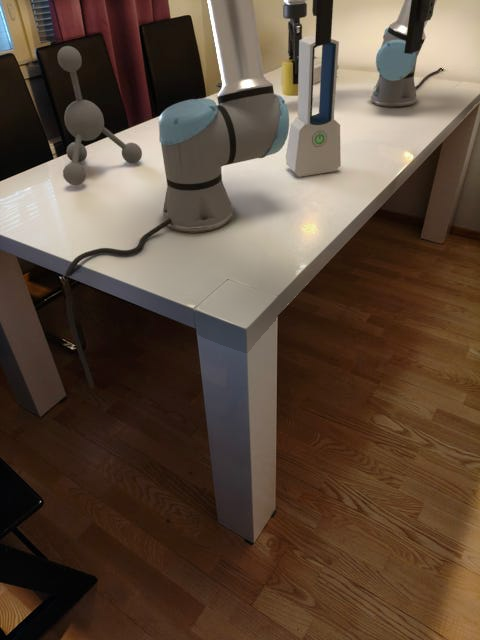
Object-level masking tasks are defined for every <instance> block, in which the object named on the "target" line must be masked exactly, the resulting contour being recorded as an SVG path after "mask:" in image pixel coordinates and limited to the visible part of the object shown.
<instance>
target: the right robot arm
mask: <svg viewBox="0 0 480 640" xmlns="http://www.w3.org/2000/svg"><path fill="white" fill-rule="evenodd" d="M307 1H308V0H282V2H283V3H284V4H283V5H282V16H283V18H284V19H286V20H287V19H288V20H289V21H288V22H287V30H288V32H287V33H288V38H287V39H288V41H287V42H288V43H287V54H288V60H291V59H294V60H292V61H291V63H293V84H298V76H299V40H301V39H303V25H302V23H301V19H303V18H306V17H307V14H308V4H307ZM411 1H412V0H404V1H403V4H402V7H401V9H400V11H399V14H398V16H397V19H396V20H395V21H394V22H392V23H390V24H389V26H388V27H386V28H385V29H384V32H383V36H382V39H383V40H382V44H381V46H380V48H379V49H378V50H377V53H376V57H375V66H376V71H377V72H378V73H379V75H378V79H377V82H376V84H375V85H374V87H373V89H372V90H373V92H372V94H371V99H370V102H371V103H372V104H373V105H376V106H379V107H387V108H403V107H408V106H412V105H414V104H415V103H416V101H417V91H416V90H417V89H418V88H420V87H421V86H422V84H423V83H425V81H426V80H427V79H428V78H429V77H431V76H433V75H435V74H437V73H439V72H444V68H443V67H442V68H443V69H442V68H441V67H439V68H438V69H437V70H435V71H433V72H431V73H429V74H427V75H426V76H425V77H423V79H421V81H420V82H419V83H418V84H417V85H415V74H416V73H415V72H416V68H417V61H418V57H419V54H420V52H421V50H422V48H423V46H424V43H425V40H426V38H427V36H426V34H425V28H426V26H427V23H428V21H425V23H424V30H423V36H422V42H421V48H420V50H419V51H416V52H413V53H410V54H407V53H404V50H405V43H406V36H407V29H408V22H409V15H410V8H411ZM437 1H438V0H435V3H434V6H435V5H436V3H437Z"/></svg>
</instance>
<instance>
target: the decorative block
mask: <svg viewBox="0 0 480 640" xmlns="http://www.w3.org/2000/svg"><path fill="white" fill-rule="evenodd" d="M321 61H322V56H315V55H314V76H313V85H316V84H317V83H320V82H321ZM337 70H339V64H337Z"/></svg>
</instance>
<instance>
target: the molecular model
mask: <svg viewBox="0 0 480 640" xmlns="http://www.w3.org/2000/svg"><path fill="white" fill-rule="evenodd" d="M82 59H83V58H82V56H81V52H79V50H78V49H77V48H75V47H73V46H71V45H64V46H62V47H61V48H60V49H59V50H58V52H57V62H58V64H59V66H60V67H61V69H63V70H64V71H66V72H67V73H68V72H69V75H70V79H71V84H72V87H73V92H74V96H75V100H74V101H72V102H71V103H70V104H69V105H67V107H66V109H65V111H64V117H63V118H64V120H63V121H64V126H65V127H66V129H67V131H68V132H69V134H70V135H71V136H72V137H74V141H73V142H71V143H70V144H68V145H67V147H66V157H68V159H69V160H70V161H71V162H69V163H68V164H66V165H65V166H64V168H63V170H62V175H63V179H64V180H65V181H66V182H67V183H68V184H70V185H72V186H79V185H82V184H83V183H84V182H85V181H86V179H87V171H86V169H85V168H84V166H83V165H81V164H80V163H82V162H84V161H85V160H86V159H87V156H88V151H87V148H86V146H85V145H84V144H82V141H84V142H89V141H94V140H96V139H97V138H98V137H100V135H101V134H103V135H104V136H106V137H107V138H108V139H109V140H111V141H112V142H113V143H115V144H116V145H117V146H118V147H119V148H121V157H122V158H123V160H124V161H125V162H126V163H128V164H130V165H131V164H137V163H139V162H140V161H141V159H142V158H143V151H142V148H141V146H140V145H139V144H137V143H135V142H128V143H124V141H122V140H121V139H120V138H119V137H117V136H116V135H115V134H114V133H113V132H111V131H110V130H109V129H107V128H106V127H105V119H104V115H103V112H102V111H101V109H100V108H99V106H98V105H96V104H95V103H94V102H92V101H90V100H87V99H83V95H82V91H81V87H80V82H79V78H78V74H77V71H78V70H80V69H81V67H82V62H83V60H82Z"/></svg>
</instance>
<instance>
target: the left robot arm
mask: <svg viewBox="0 0 480 640" xmlns="http://www.w3.org/2000/svg"><path fill="white" fill-rule="evenodd" d="M206 2H207V5H208V11H209V17H210V22H211V29H212V33H213V38H214V45H215V51H216V55H217V56H216V57H217V62H218V68H219V73H220V79H221V83H222V88H220V90H219V91H218V93H217V95H216V99H217V103H218V104H217V103H216V101H215V100H214V99H211V98H208V97H207V98H206V97H200V98H196V99H195V98H192V99H186V100H183V101H179V102H177V103H174V104H172V105H170V106H168V107H167V108H165V109H164V110H163V111H162V112H161V114H160V115H159V118H158V131H159V132H158V133H159V136H158V139H159V142H160V145H161V146H160V147H161V153H162V159H163V168H164V173H165V180H166V190H165V191H166V192H165V196H164V203H163V207H162V218H163V222H161V223H160V224H158V225H157V226H156V227H154V228H152V229H151V230H149V231H148V232H146V233H145V234H143V235H142V236H141V237H140V239H139V241H138V244H137V246H136V247H134V248H131V249H117V248H110V247H101V248H96V249H92V250H88V251H85V252H83V253H81V254H79V255H77V256H76V257H75V258H74V259H73V260H72V261H71V262H70V264H69V266H68V267H67V269H66V271H65V273H64V277H66V278H67V277H70V276H71V275H72V274H73V272H74V269H75V268H76V266H77V265H78V264H79V263H80V262H81V261H82V260H84V259H87V258H89V257H92V256H97V255H101V254H113V255H118V256H131V255H134V254H137V253H139V252H140V251H141V250H142V249H143V247H144V245H145V242H146V241H147V240H148V239H149V238H150V237H152V236H153V235H155V234H156V233H158V232H160V231H161V230H163V229H164V228H166V227H168V228H169V229H171V230H173V231H177V232H180V233H190V234H191V233H192V234H193V233H194V234H195V233H196V234H197V233H205V232H206V233H207V232H210V231H215V230H216V229H220V228H222V227H224V226H226V225H227V224H228V223H230V221H231V220H232V218H233V216H234V212H233V211H234V210H233V205H232V201H231V200H230V197H229V195H228V192H227V190H226V187H225V184H224V182H223V175H222V174H223V173H222V168H223V167H224V166H228V165H233V164H238V163H242V162H246V161H251V160H255V159H264V158H266V157H267V156H271V155H274V154H277V153H278V152H280V151H281V150H282V149H283V147H284V145H285V144H286V141H287V140H288V137H289V132H290V113H289V109H288V108H289V107H288V105H287V104H286V100H285V99H284V97H282V96H281V95H280V94H276V93H275V91H274V84H273V83H272V82H271V81H269V80H268V79H267V78H266V77H265V74H264V67H263V60H262V52H261V47H260V39H259V34H258V26H257V21H256V20H257V19H256V13H255V6H254V0H207V1H206ZM434 3H435V0H412V1H411V8H410V15H409V22H408V29H407V36H406V43H405V50H404V53H407V54H410V53H413V52H416V51H419V50H420V48H421V49H422V47H421V42H422V36H423V30H424V31H425V28H424V23H425V21H427V22H429V21H431V19H432V17H433V14H434V8H435V5H434ZM435 4H436V3H435ZM311 11H312V16H313V17H315V35H316V36H315V45H321V46H322V45H323V44H326V43H330V42H331V39H332V31H333V30H332V29H333V13H334V0H312V10H311ZM420 51H421V50H420ZM65 305H66V312H67V318H68V322H69V327H70V331H71V335H72V338H73V341H74V344H75V348H76V351H77V353H78V356H79V358H80V361H81V364H82V366H83V370H84V372H85V375H86V379H87V381H88V385H89V388H90V389H92V390H93V389H95V386H96V385H95V382H94V379H93V376H92V372H91V371H90V367H89V364H88V362H87V359H86V356H85V353H84V350H83V348H82V344H81V341H80V339H79V338H80V337H79V334H78V330H77V326H76V321H75V318H74V311H73V304H72V299H71V298H69V297H65Z"/></svg>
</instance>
